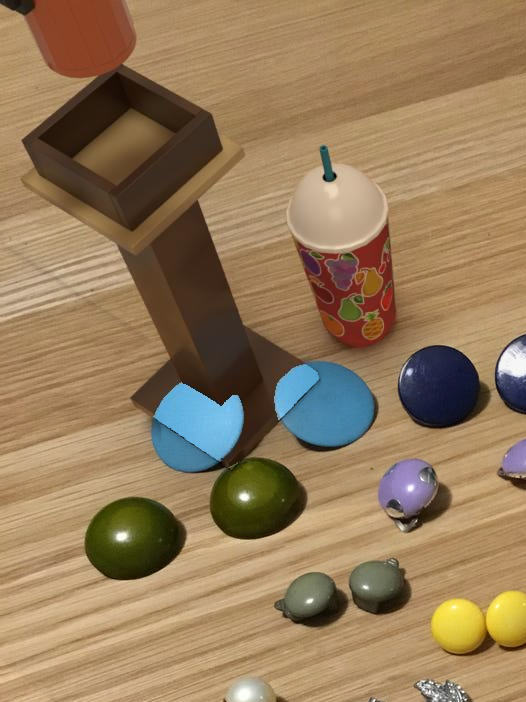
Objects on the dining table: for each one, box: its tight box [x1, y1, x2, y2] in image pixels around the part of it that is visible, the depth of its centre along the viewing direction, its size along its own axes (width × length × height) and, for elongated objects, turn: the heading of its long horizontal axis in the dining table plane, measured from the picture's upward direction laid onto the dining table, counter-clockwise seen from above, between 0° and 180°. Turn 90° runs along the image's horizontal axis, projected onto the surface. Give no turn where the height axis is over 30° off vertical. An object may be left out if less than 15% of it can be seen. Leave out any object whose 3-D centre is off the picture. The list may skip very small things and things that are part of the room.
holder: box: [19, 63, 307, 469], centre depth 88 cm, size 12×12×29 cm
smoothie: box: [285, 144, 397, 348], centre depth 94 cm, size 8×8×20 cm
